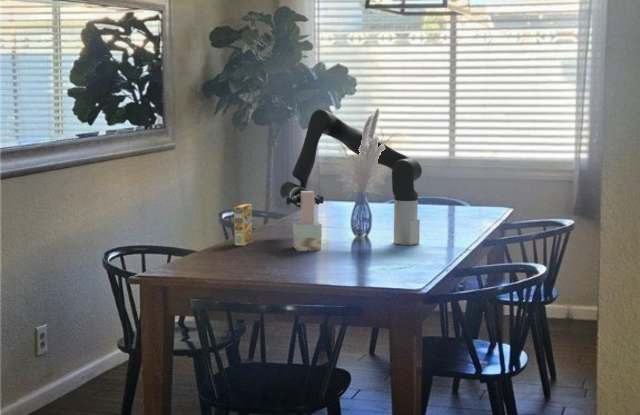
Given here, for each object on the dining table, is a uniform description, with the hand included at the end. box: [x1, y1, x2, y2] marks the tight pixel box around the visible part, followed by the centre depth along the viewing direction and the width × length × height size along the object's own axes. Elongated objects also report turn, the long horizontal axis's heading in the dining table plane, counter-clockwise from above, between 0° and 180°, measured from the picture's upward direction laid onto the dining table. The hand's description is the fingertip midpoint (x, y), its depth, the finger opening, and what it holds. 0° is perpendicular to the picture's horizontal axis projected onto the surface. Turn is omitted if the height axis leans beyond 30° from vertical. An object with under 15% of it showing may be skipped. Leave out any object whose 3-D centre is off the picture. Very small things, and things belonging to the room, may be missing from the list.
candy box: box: [233, 203, 253, 247], centre depth 372 cm, size 9×4×15 cm, turn 163°
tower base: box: [293, 235, 322, 252], centre depth 363 cm, size 9×9×5 cm
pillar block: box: [299, 190, 315, 224], centre depth 361 cm, size 4×4×12 cm
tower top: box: [292, 220, 323, 239], centre depth 363 cm, size 9×9×5 cm
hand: (307, 202), depth 359 cm, fingers open, 8 cm apart
